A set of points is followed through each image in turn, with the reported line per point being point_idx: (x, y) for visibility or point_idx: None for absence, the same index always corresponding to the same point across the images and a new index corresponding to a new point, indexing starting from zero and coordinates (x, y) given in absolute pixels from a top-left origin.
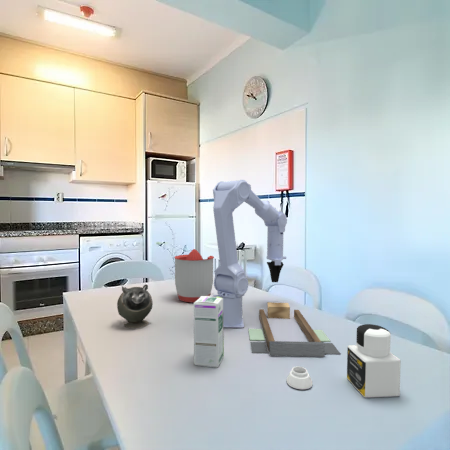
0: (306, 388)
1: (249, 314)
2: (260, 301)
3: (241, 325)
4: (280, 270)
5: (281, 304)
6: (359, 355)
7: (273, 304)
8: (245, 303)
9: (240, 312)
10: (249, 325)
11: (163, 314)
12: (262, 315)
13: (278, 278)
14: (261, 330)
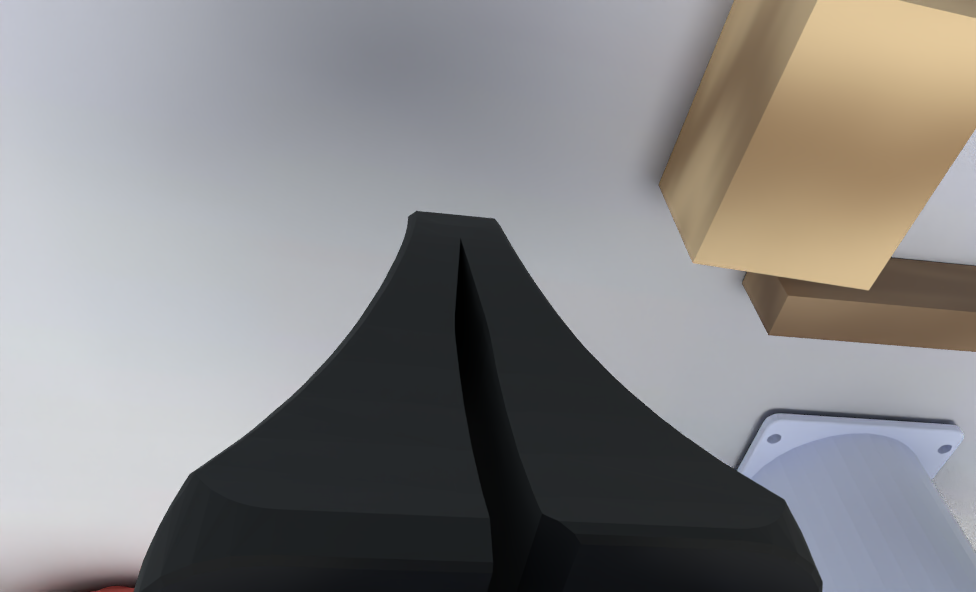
0: None
1: (648, 347)
2: (133, 160)
3: (943, 444)
4: (642, 408)
5: (855, 113)
6: None
7: (812, 216)
8: (253, 334)
9: (958, 526)
10: (920, 381)
11: None
12: (972, 340)
13: (522, 265)
14: None
